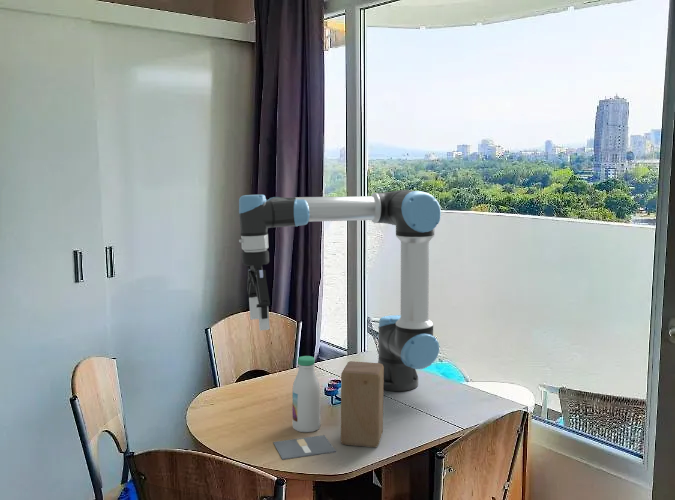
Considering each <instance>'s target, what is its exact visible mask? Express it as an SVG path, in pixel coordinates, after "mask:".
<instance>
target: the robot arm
mask: <svg viewBox="0 0 675 500" xmlns="http://www.w3.org/2000/svg"><path fill="white" fill-rule="evenodd" d="M238 214H239V215H238V217H239V229H240V238H241V239H238V242H239V244H241V250H243V251H242V252H241V262H242V264H243V266H247V267H246V268H247V283H246V284H247V286H246V287H247V288H246V289H247V290H246V293H247V296H248V302H249V303H248V304H249V305H248V306H249V317H250V320H252V321H253V320H258V327H259V328H258V329H259V331H260V332H261V331H267V330H270V311H269V310H270V309H269V306H270V305H271V301H270V296H269V288H268V282H267V271H266V269H263V265H268V264H269V263H270V252H269V250H268V249H269V232H268V230H269V229H271V228H286V227H298V226H299V227H300V226H301V227H302V226H306V225H308V223H309V222H311V223H313V222H343V221H344V222H347V221H348V222H349V221H353V222H354V221H371V222H372V223H373V224H387V225H392V226H395V237H396V238H397V239H398V240H399V241H400V314H399V315H398V314H396V315H395V314H394V315H392V314H391V315H385V316H382V317H381V318H379V321H378V327H377V328H378V360H377V363H381V364H383V366H384V387H383V391H384V390H385V391H390V392H407V391H411V390H414V389H416V388H417V387H418V386H419V376H418V371H417V370H423V369H426V368H429V367H430V366H431V365H432V364H433V363H434V362H435V361H436V360H437V358H438V356H439V352H440V344H439V341H438V339H437V338H436V337H435V336H434V323H433V321H431V319H430V318H429V297H430V296H429V291H430V290H429V289H430V288H429V286H430V279H429V277H430V274H429V273H430V241H431V240H432V239H433V238H434V237H435V228H436V227H437V225H439V223H440V221H441V216H442V210H441V206H440V203H439V201H438V200H437V199H436V198H435V196H433V195H432V194H430V193H428V192H425V191H423V190H422V191H421V190H408V189H399V190H392V191H391V190H390V191H384V192H373V193H372V194H371V195H367V196H366V195H365V196H363V195H361V196H359V195H358V196H355V195H354V196H353V195H351V196H350V195H349V196H302V197H301V196H299V197H298V196H297V197H296V196H295V197H280V196H273V197H269V199H267V198H266V195H265V194H245V195H241V196H240V197H239V199H238Z"/></svg>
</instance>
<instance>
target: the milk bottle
mask: <svg viewBox="0 0 675 500" xmlns="http://www.w3.org/2000/svg"><path fill="white" fill-rule="evenodd" d="M315 360H316V358H315V357H314V356H311V355H302V356H299V357H298V358H297V366H298V371H297V373H296V376H295V378H294V380H293V386H292V395H291V396H292V399H291V400H292V404H291V405H292V406H291V407H292V409H291V411H292V428H293V430H295V431H296V432H300V433H313V432H316V431H318V430H319V429H320V427H321V386H320V381H319V378H318V377H317V375H316V372H315Z"/></svg>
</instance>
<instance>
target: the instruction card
mask: <svg viewBox="0 0 675 500" xmlns="http://www.w3.org/2000/svg"><path fill="white" fill-rule="evenodd" d="M272 443H273V445H274V447H275V449H276V450H277V453H278V454H279V457H280V458H281V460H282V461H284V460H290V459H297V458H303V457H312V456H317V455H318V456H319V455H324V454H325V455H326V454H330V453H336V452H337V449H336V448H335V447H334V446H333V445H332V443H331V442H330V441H329V440H328V438H327V437H326V435H325V434H323V435H321V434H320V435H314V436H308V437H301V438H294V439H293V438H291V439H286V440H285V439H284V440H278V441H273V442H272Z"/></svg>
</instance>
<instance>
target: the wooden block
mask: <svg viewBox="0 0 675 500" xmlns="http://www.w3.org/2000/svg"><path fill="white" fill-rule="evenodd" d="M340 376H341V377H340V378H341V379H340V380H341V381H340V385H341V386H340V387H341V388H340V442H341V444H342V445H346V446H356V447H367V448H377V447H378V446H379V444H380V442H381V439H382V435H383V431H384V389H383V387H384V366H383V364H381V363H378V362H367V361H366V362H365V361H355V360H354V361H353V360H352V361H347V363H346V365H345V366H344V368H343V369H342V371H341V374H340Z"/></svg>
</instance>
